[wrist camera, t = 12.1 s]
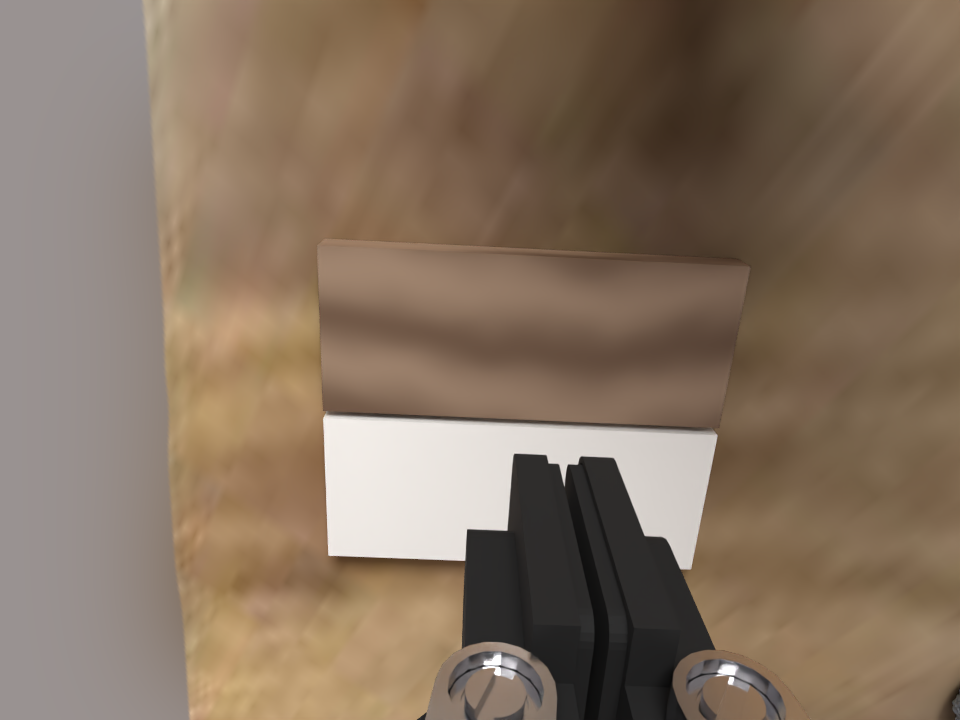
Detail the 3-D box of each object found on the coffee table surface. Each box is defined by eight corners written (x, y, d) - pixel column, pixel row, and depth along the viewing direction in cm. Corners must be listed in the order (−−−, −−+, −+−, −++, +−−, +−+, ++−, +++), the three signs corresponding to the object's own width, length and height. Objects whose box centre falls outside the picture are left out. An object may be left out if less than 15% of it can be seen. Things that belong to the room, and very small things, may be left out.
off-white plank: (330, 404, 42) (323, 418, 41) (707, 420, 43) (717, 435, 41) (334, 537, 46) (328, 555, 44) (682, 550, 47) (690, 569, 45)
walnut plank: (324, 238, 39) (317, 245, 37) (737, 258, 39) (750, 266, 37) (329, 397, 42) (323, 410, 40) (708, 413, 43) (718, 428, 41)
